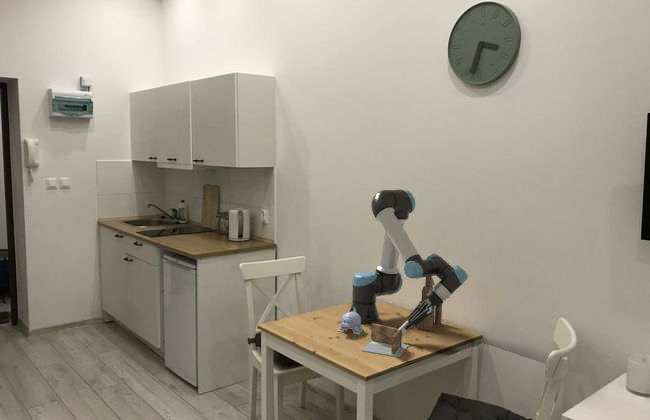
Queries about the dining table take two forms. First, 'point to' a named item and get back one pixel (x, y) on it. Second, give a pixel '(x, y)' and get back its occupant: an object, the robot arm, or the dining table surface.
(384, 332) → the fence panel
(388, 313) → the dining table surface
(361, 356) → the dining table surface
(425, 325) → the wooden toy
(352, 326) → the hippopotamus toy
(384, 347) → the card
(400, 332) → the fence fixed
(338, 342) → the dining table surface
